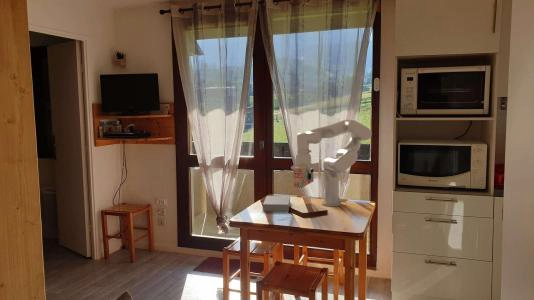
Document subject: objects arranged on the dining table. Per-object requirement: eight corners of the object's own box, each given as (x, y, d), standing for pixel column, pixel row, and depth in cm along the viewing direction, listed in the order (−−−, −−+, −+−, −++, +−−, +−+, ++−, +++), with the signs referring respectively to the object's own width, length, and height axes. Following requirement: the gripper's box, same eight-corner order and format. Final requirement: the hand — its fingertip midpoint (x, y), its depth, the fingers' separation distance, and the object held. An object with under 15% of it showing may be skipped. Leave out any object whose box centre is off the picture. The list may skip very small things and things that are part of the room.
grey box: (290, 203, 293) (290, 196, 292) (288, 212, 267) (288, 204, 266) (266, 202, 294) (266, 195, 294) (263, 212, 268) (262, 204, 268)
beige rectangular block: (304, 181, 288) (304, 163, 286) (313, 181, 285) (313, 163, 284) (293, 187, 268) (293, 167, 267) (302, 187, 266) (302, 168, 264)
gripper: (317, 151, 276) (317, 178, 278) (290, 151, 279) (290, 178, 281) (316, 152, 269) (316, 180, 271) (288, 152, 272) (289, 180, 274)
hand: (303, 179), depth 276 cm, fingers closed on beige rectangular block, 7 cm apart
